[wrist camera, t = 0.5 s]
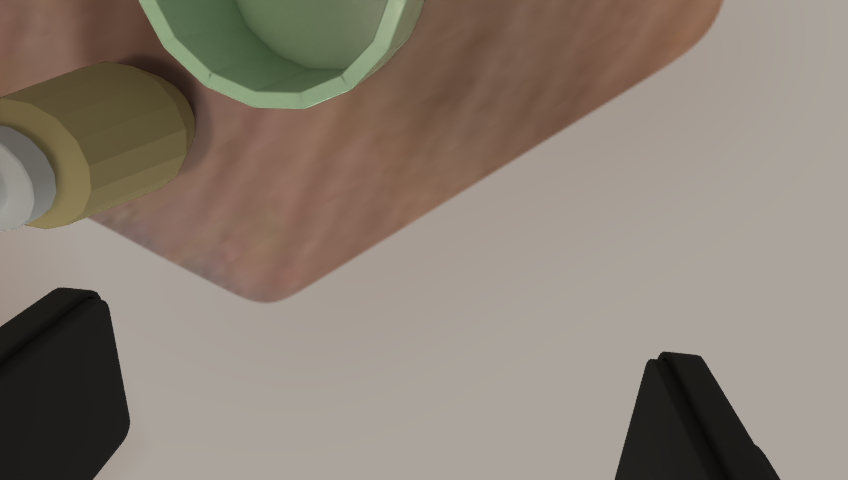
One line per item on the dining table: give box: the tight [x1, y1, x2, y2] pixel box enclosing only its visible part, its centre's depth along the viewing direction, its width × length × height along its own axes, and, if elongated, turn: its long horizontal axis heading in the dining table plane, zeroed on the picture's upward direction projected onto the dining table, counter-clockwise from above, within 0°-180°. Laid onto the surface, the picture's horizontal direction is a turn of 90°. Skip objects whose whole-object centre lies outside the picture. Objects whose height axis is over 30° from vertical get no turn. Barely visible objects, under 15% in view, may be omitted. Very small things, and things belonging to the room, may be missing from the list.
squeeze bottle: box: [0, 61, 195, 232], centre depth 30 cm, size 8×8×18 cm
